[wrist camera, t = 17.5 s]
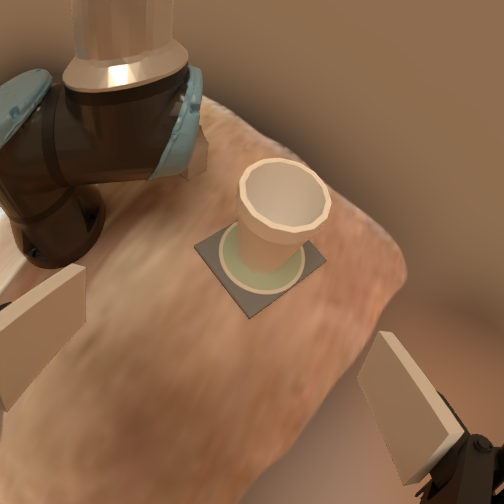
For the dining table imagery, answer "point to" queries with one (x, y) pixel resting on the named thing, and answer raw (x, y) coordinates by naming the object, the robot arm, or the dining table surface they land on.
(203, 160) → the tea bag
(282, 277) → the square coaster
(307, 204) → the foam cup
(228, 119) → the dining table surface
